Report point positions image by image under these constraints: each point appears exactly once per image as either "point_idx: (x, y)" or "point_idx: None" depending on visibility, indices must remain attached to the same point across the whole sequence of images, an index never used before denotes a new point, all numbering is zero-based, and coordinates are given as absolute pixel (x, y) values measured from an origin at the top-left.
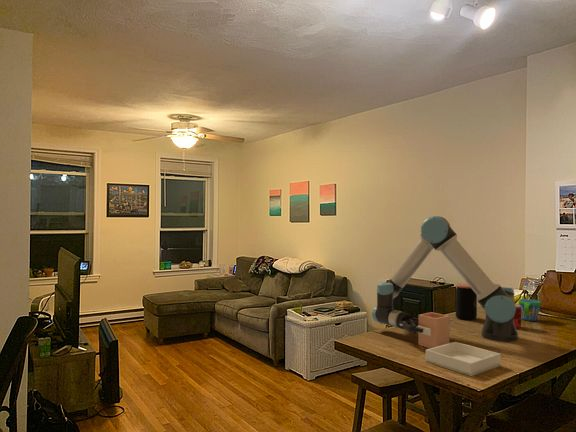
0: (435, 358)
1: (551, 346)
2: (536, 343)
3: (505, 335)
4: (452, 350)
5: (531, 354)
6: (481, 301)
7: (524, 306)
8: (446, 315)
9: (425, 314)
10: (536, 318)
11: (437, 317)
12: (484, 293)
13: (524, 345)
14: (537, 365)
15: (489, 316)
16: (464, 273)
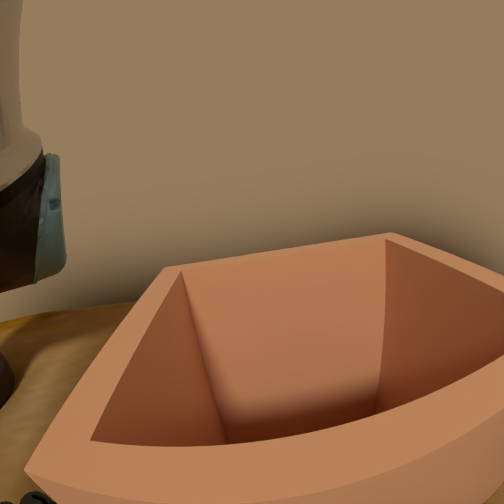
0: None
1: (27, 327)
2: (11, 342)
3: (3, 357)
4: None
5: (109, 321)
6: (21, 186)
7: None
8: (159, 278)
9: (450, 394)
10: None
11: (165, 395)
12: (28, 141)
13: (35, 348)
14: None
15: (63, 248)
16: (8, 10)
